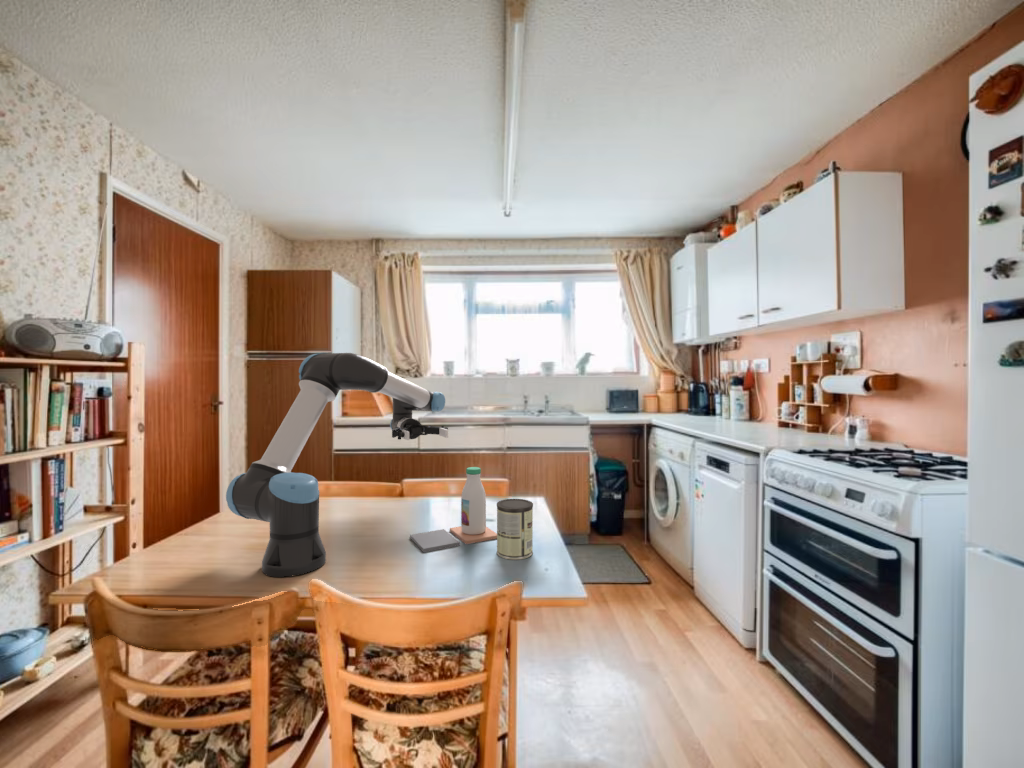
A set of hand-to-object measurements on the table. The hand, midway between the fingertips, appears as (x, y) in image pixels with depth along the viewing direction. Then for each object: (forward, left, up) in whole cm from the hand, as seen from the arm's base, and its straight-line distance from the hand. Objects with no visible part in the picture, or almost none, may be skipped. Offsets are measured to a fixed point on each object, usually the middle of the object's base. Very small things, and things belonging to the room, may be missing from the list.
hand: (428, 434), depth 155 cm
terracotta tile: (+9, -18, -30) cm, 36 cm away
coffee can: (+13, -37, -30) cm, 49 cm away
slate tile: (-4, -18, -30) cm, 35 cm away
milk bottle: (+9, -18, -29) cm, 35 cm away
